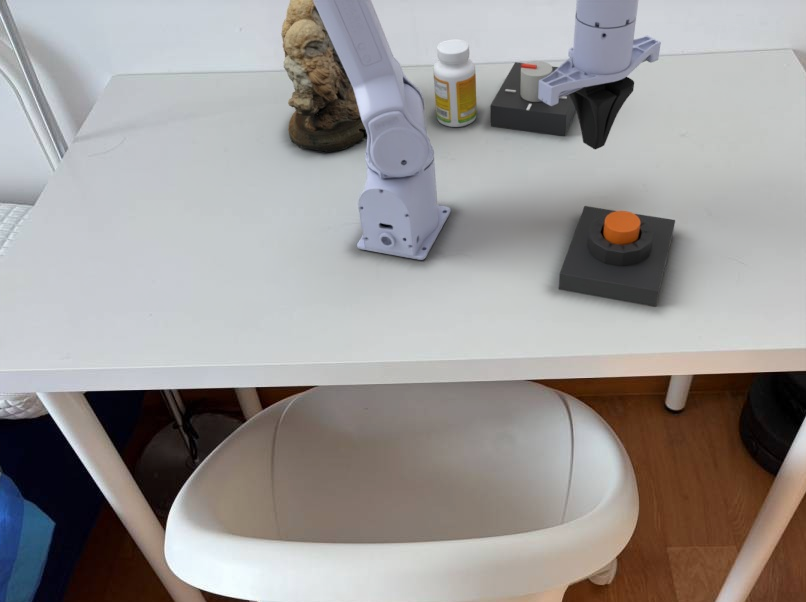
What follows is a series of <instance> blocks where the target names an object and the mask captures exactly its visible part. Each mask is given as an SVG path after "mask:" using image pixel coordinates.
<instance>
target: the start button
mask: <svg viewBox="0 0 806 602" xmlns="http://www.w3.org/2000/svg"><path fill="white" fill-rule="evenodd" d="M614 211H615V212H612V213H610V214H609V215H607V217H606V218H605V223H604V232H603V235H604V237H605V239H606V240H607V241H609V242H611V243H612V244H619V245H627V244H632V243H634V242H635V241H636V240H637V239H638V236H639V230H640V219H639V218H638V216H636V215H635V214H636V213H633V212H632V211H628V210H614Z"/></svg>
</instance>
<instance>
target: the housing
mask: <svg viewBox="0 0 806 602" xmlns="http://www.w3.org/2000/svg"><path fill="white" fill-rule="evenodd" d="M615 211H616V210H614V209H606V208H600V207H593V206H588V205H584V206H583V209H582V212H581V215H580V217H579V220H578V221H577V225H576V228H575V229H574V230H575V231H574V232H573V235H572V239H571V241H570V245H569V247H568V249H567V253H566V254H565V255H566V256H565V257H564V260H563V263H562V266H561V269H560V272H559V276H558V277H559V278H558V290H560V291H566V292H572V293H578V294H583V295H587V296H593V297H598V298H604V299H610V300H615V301H621V302H626V303H631V304H636V305H643V306H648V307H654V308H655V307H657V302H658V300H659V299H658V298H659V295H660V289H661V287H662V286H661V285H662V281H663V277H664V273H665V268H666V264H667V261H668V256H669V251H670V247H671V243H672V239H673V234H674V230H675V224H676V220H675V219H671V218H665V217H659V216H652V215H645V214H638V213H634V214H635V215H636V216H638V218H639V219H640V230H639V236H638V239H637V240H636V241H635V242H634V243H632V244H627V245H619V244H612V243H611V242H609V241H607V240H606V239H605V237H604V235H603V232H604V223H605V218H606V217H607V215H609V214H610V213H612V212H615Z"/></svg>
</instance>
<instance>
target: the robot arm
mask: <svg viewBox="0 0 806 602" xmlns="http://www.w3.org/2000/svg"><path fill="white" fill-rule="evenodd" d="M313 2H314V4H315V6H316V8H317V10H318V12H319V15H320V17H321V19H322V21H323V23H324V26H325V28H326V30H327V32H328V34H329V37H330V39H331V41H332V43H333V45H334V47H335V50H336V52H337V54H338V56H339V58H340V61H341V63H342V65H343V67H344V69H345V71H346V74H347V76H348V78H349V80H350V82H351V85H352V87H353V90H354V93H355V97H356V101H357V105H358V109H359V113H360V116H361V120H362V122H363V125H364V127H365V129H366V130H365V132H367V136H366V139H367V140H366V150H365V152H364V153H365V155H364V156H365V165H366V180H365V184H364V187H363V189H362V191H361V193H360V195H359V198H358V202H357V208H358V214H359V221H360V226H361V233H362V235H361V237H360V239H359V241H358V242H357V244H356V246H357V248H358V249H359V250H363V251H369V252H374V253H380V254H386V255H390V256H396V257H402V258H406V259H413V260H418V261H423V260H425V259H426V258H427V256H428V254H429V252H430V251H431V248H432V247H433V246H434V243H435V242H436V239H437V237H438V236H439V235H440V233H441V230H442V228H443V226H444V225H445V223H446V221H447V219H448V218H449V216H450V214H451V211H452V210H451V207H449V206H446V205H439V203H438V193H437V192H438V191H437V178H436V164H435V152H434V148H433V146H432V144H431V139H430V137H429V136H428V131H427V130H428V129H427V124H426V116H425V99H424V97H423V93H422V92H421V90H420V88H418V86H417V85H416V84H415V83H414V82H412V81H411V80H409V79H408V77H407V76H406V75H405V73H404V71H403V68H402V66H401V63H400V62H399V60H397V58H396V57H395V56H394V54H393V52H392V49H391V46H390V44H389V41H388V38H387V36H386V34H385V31H384V28H383V27H382V23H381V21H380V19H379V16H378V14H377V11H376V8H375V7H374V4H373V2H372V0H313ZM638 7H639V0H576V2H575V17H574V28H573V29H574V32H573V33H574V34H573V45H572V47H569V49H568V58H567V59H566V60H564V62H563V63H562V64H560V65H559V66H557V67H558V68H557V69H556V70H555V71H554V72H552V73H551V74H550V75H548V76H547V77H545V78H543V79H541V80H539V90H538V99H540V100H541V101H543V102H544V103H546V104H548V105H550V106H553V105H555V104H557V103H558V102H559V98H561V97H564V96H566V95H568V94H569V96H570V98H571V100H572V102H573V104H574V106H575V109H576V112H575V113H576V116H577V118H578V122H579V123H578V124H579V126H580V131H581V138H582V143H583V144H585V145H587V146H588V147H590V148H592V149H593V150H598V149H600V148H602V147H604V146H605V145H606V143H607V140H608V137H609V135H610V133H611V130H612V127H613V125H614V123H615V120H616V118H617V116H618V114H619V112H620V110H621V109H622V107H623V106H624V104H625V102H626V101H627V100H628V98H629V97H630V96H631V94H632V93H633V92H634V88H635V81H634V80H633V79H632V78H630V77H628V76H629V75H630V74H631V73H633V72H634V70H636V69H637V68H638V67H639V66H640V65H641V64H642V63H644V62H647V63H650V64H651V63H654V62H657V61H659V57H660V52H661V51H660V50H661V46H662V45H661V44H662V41H660V40H658V39H656V38H654V37H652V36H649V35H645V36H642V37H639V38H635V32H636V24H637V17H638V16H637V15H638Z"/></svg>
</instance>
